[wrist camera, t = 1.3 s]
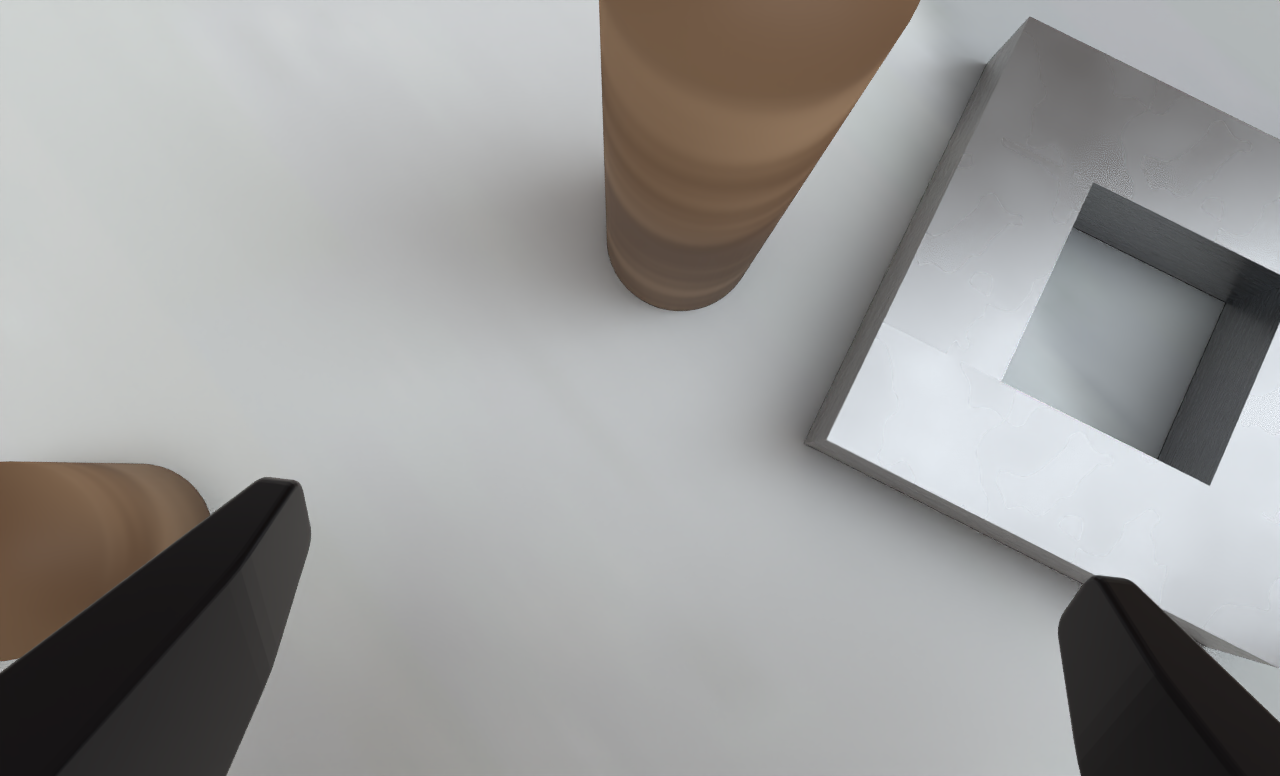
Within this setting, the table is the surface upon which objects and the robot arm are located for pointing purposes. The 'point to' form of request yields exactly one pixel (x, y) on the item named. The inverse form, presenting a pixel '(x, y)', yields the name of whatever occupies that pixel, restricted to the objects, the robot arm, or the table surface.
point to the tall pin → (722, 126)
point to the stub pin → (80, 537)
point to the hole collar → (1005, 300)
